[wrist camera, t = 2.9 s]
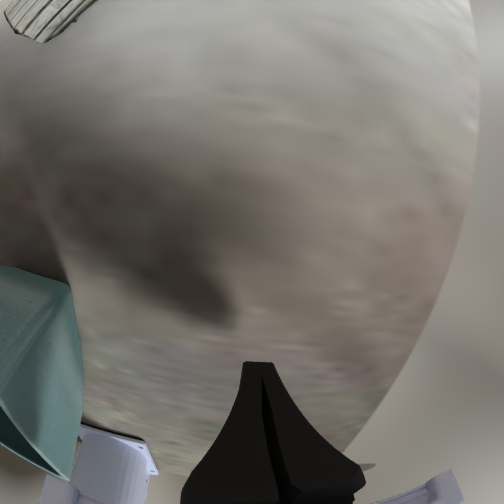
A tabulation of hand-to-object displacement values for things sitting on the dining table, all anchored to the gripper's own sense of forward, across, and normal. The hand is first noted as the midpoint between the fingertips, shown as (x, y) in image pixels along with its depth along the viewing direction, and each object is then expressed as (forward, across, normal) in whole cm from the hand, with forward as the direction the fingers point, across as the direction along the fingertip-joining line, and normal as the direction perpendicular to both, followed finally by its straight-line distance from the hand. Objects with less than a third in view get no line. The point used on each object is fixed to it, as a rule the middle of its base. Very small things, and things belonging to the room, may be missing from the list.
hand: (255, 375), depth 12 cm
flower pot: (+3, +13, 0) cm, 13 cm away
